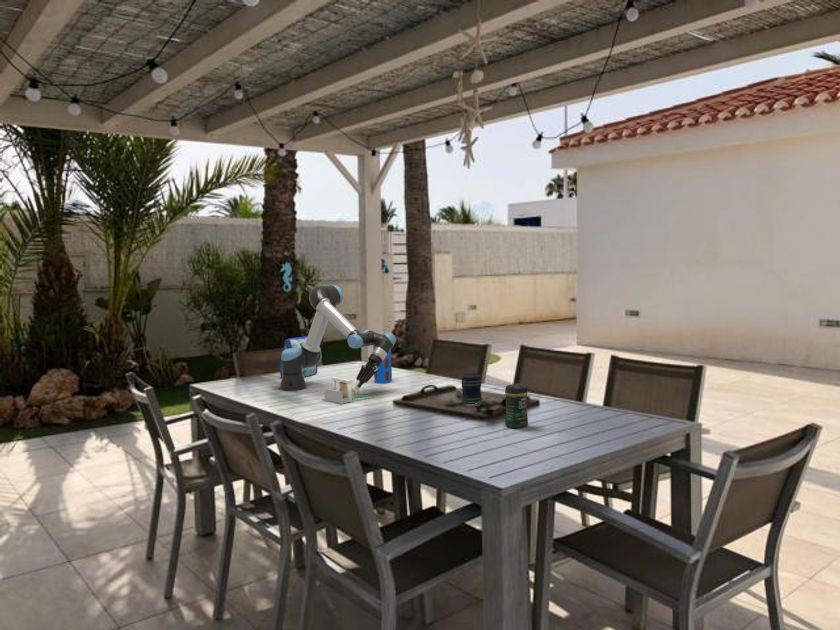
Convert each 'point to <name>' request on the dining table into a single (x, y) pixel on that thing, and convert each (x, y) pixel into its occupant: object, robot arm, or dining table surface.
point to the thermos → (384, 370)
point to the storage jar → (471, 388)
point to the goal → (338, 392)
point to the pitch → (355, 398)
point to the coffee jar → (516, 405)
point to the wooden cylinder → (345, 389)
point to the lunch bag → (297, 344)
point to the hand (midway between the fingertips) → (353, 391)
